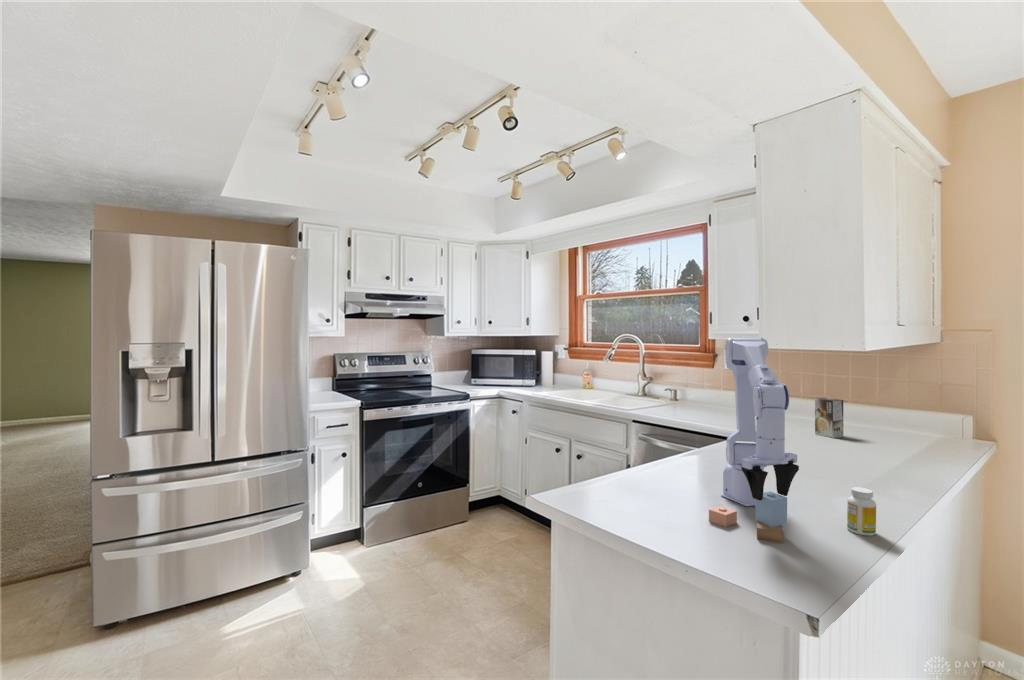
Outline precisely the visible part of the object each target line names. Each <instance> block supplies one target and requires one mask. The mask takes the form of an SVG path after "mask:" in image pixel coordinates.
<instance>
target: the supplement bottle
mask: <svg viewBox="0 0 1024 680" xmlns="http://www.w3.org/2000/svg"><path fill="white" fill-rule="evenodd" d="M850 491H851V492H850V494H851V496H848V498H847V510H846V511H847V513H846V515H847V517H846V523H847V524H846V525H847V526H846V528H847V530H848V531H850V532H851V533H853V534H857V535H860V536H875V535H876V532H877V503H876V501H875V500H874V499H873V497H874V491H873V490H872V489H871V488H870V489H869V488H866V487H860V486H859V487H858V486H855V487H851V490H850Z"/></svg>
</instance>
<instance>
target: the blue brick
mask: <svg viewBox="0 0 1024 680" xmlns="http://www.w3.org/2000/svg"><path fill="white" fill-rule="evenodd" d="M754 506H755V507H754V508H755V509H754V510H755V511H754V512H755V513H754V514H755V515H754V516H755V518H754V519H755V521H756V520H757V521H759V522H761V523H764V524H766V525H768V526H770V527H775V526H781V525H782V526H785V525H788V497H787V496H783V495H781V494H778V493H777V492H773V491H765V492H764V491H763V498H762V500H757V499H756V500H755V505H754Z"/></svg>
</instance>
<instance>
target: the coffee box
mask: <svg viewBox="0 0 1024 680" xmlns="http://www.w3.org/2000/svg"><path fill="white" fill-rule="evenodd" d="M814 435H818V436H823V437H828V438H831V439H832V438H833V439H837V438H838V439H839V438H844V399H839V398H831V397H815V398H814Z"/></svg>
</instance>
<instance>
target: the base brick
mask: <svg viewBox="0 0 1024 680" xmlns="http://www.w3.org/2000/svg"><path fill="white" fill-rule="evenodd" d="M755 524H756V527H755V528H756V540H759V541H766V542H771V543H776V544H777V543H778V544H784V540H783V539H784V529H783V525H781V526H775V527H770V526H768V525H766V524H764V523H761V522H759V521H757V520H755Z"/></svg>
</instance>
